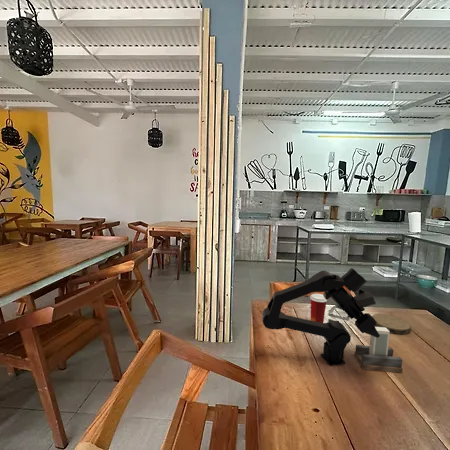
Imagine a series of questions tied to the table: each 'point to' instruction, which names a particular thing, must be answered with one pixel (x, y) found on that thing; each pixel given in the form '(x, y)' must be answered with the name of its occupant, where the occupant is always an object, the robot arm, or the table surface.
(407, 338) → the table surface
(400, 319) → the brown round disc
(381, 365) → the display ledge
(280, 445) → the table surface
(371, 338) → the cream slab
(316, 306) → the paper cup
